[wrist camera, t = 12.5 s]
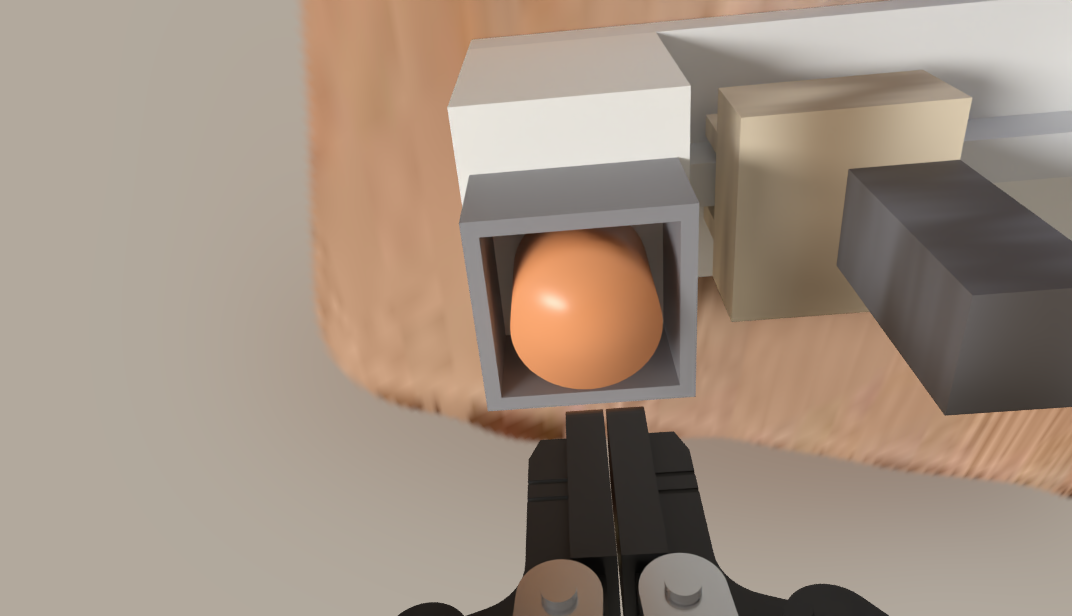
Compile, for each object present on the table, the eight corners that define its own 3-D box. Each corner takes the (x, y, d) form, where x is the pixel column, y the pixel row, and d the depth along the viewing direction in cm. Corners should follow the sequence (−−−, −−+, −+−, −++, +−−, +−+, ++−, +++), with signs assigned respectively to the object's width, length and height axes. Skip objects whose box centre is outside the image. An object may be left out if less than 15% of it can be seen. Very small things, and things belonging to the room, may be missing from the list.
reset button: (646, 201, 20) (662, 254, 17) (648, 320, 22) (663, 384, 19) (506, 212, 20) (501, 266, 17) (520, 329, 22) (518, 394, 19)
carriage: (898, 55, 24) (1158, 202, 14) (871, 238, 27) (1067, 465, 17) (706, 72, 24) (826, 229, 14) (702, 252, 28) (798, 482, 18)
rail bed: (1208, -30, 25) (1623, 43, 15) (1120, 238, 30) (1393, 420, 20) (471, 39, 26) (433, 147, 16) (503, 286, 31) (488, 479, 21)
